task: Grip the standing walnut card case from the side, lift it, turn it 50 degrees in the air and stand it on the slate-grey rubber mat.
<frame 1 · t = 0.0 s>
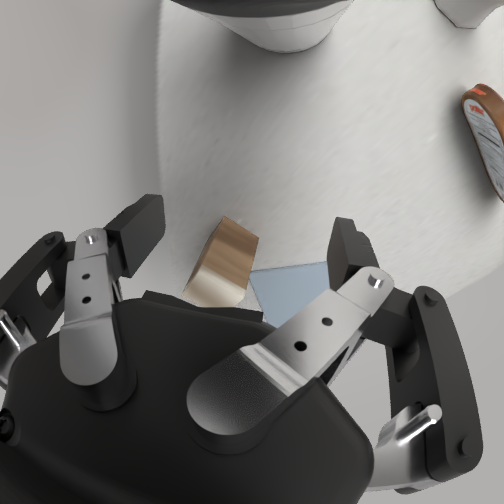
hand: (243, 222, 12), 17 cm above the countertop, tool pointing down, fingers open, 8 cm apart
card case: (232, 239, 34), on the countertop
mat: (303, 299, 39), on the countertop
tin: (480, 140, 20), on the countertop
flask: (455, 1, 11), on the countertop
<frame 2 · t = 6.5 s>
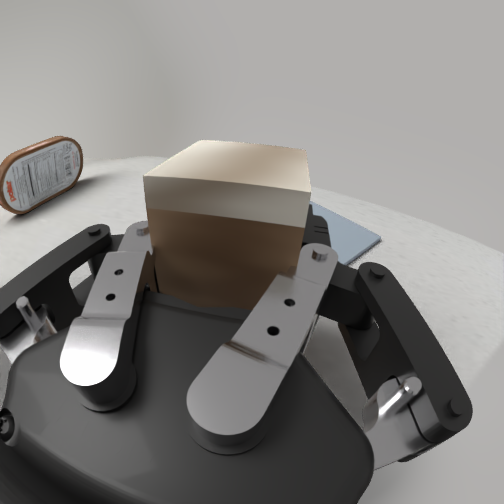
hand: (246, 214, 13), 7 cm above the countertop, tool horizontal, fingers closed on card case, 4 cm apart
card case: (232, 344, 14), on the countertop, touching gripper
mat: (290, 230, 25), on the countertop
tin: (46, 201, 29), on the countertop
when the fingers open (8 cm above the countertop, at t = 12.2 s): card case stays where it is, resting on mat.
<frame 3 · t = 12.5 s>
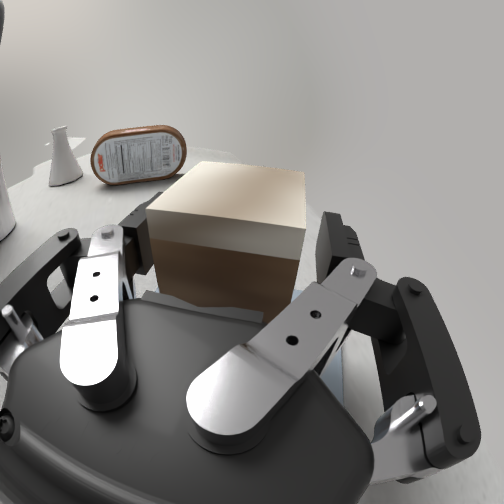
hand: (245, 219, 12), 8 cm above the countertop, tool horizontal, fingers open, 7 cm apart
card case: (233, 355, 15), resting on mat
mat: (231, 358, 15), on the countertop
tin: (140, 182, 38), on the countertop
flask: (66, 180, 40), on the countertop
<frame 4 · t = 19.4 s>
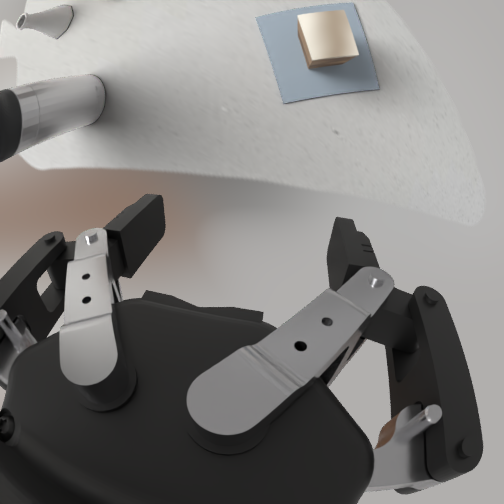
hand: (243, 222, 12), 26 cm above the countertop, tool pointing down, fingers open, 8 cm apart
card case: (320, 49, 26), resting on mat
mat: (319, 49, 26), on the countertop
flask: (61, 21, 24), on the countertop
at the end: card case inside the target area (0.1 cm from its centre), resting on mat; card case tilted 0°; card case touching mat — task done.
